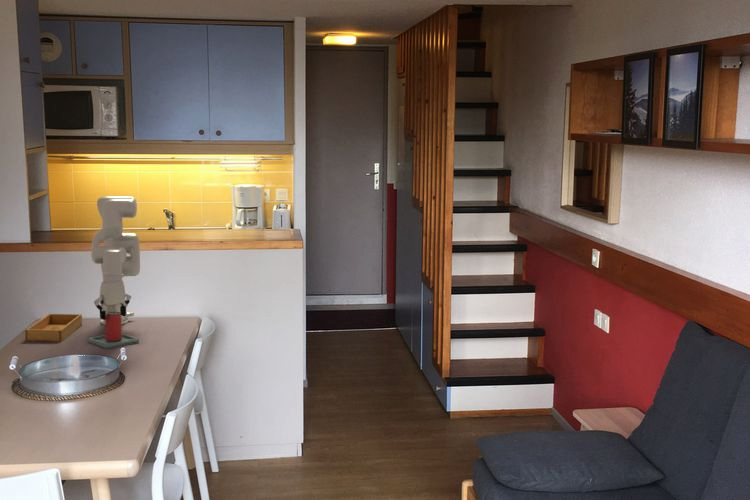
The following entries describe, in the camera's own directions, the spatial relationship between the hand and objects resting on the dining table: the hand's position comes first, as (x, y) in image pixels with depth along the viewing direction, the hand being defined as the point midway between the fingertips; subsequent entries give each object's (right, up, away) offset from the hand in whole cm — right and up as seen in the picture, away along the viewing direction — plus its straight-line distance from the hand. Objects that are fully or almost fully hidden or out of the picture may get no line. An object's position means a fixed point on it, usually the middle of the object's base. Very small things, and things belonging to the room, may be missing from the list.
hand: (113, 317), depth 351 cm
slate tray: (0, -11, +1) cm, 11 cm away
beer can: (0, -10, +1) cm, 10 cm away
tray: (-31, -9, +15) cm, 35 cm away
